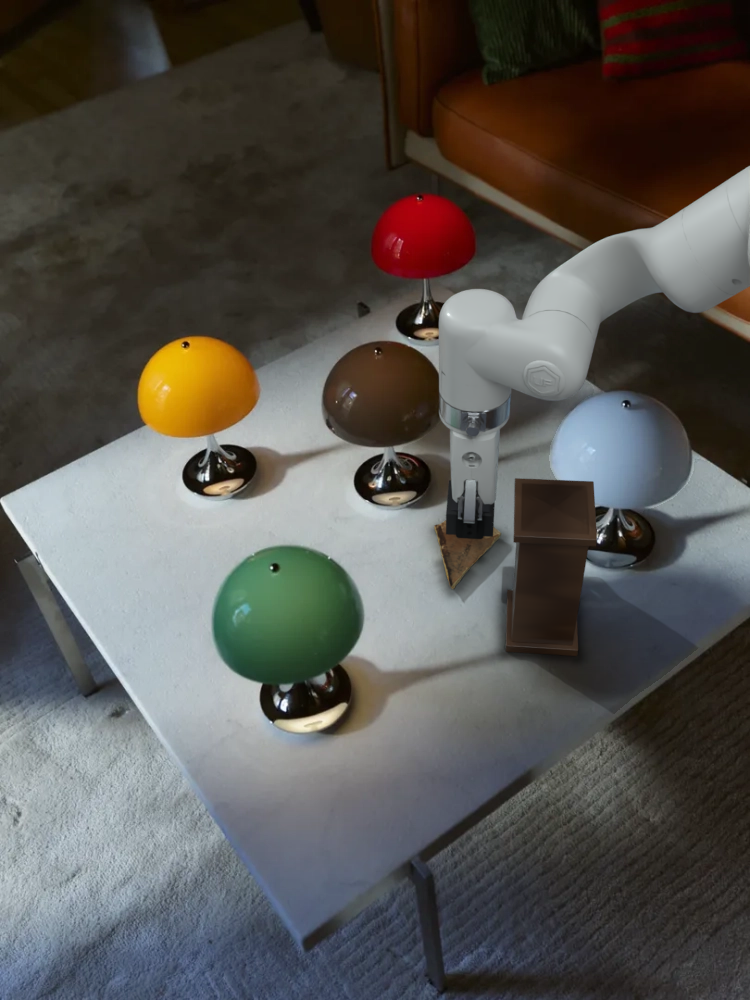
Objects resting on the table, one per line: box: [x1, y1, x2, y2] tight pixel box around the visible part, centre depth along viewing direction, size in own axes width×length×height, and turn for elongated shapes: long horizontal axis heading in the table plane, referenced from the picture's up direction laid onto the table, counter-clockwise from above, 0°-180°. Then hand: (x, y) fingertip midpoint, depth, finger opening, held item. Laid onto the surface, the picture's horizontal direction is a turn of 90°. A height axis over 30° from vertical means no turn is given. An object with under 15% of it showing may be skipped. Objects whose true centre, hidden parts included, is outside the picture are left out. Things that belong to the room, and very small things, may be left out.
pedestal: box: [505, 477, 598, 657], centre depth 102 cm, size 8×8×20 cm
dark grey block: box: [445, 479, 496, 537], centre depth 112 cm, size 6×6×4 cm
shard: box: [433, 519, 502, 590], centre depth 117 cm, size 11×8×2 cm
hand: (470, 515), depth 113 cm, fingers closed on dark grey block, 5 cm apart
